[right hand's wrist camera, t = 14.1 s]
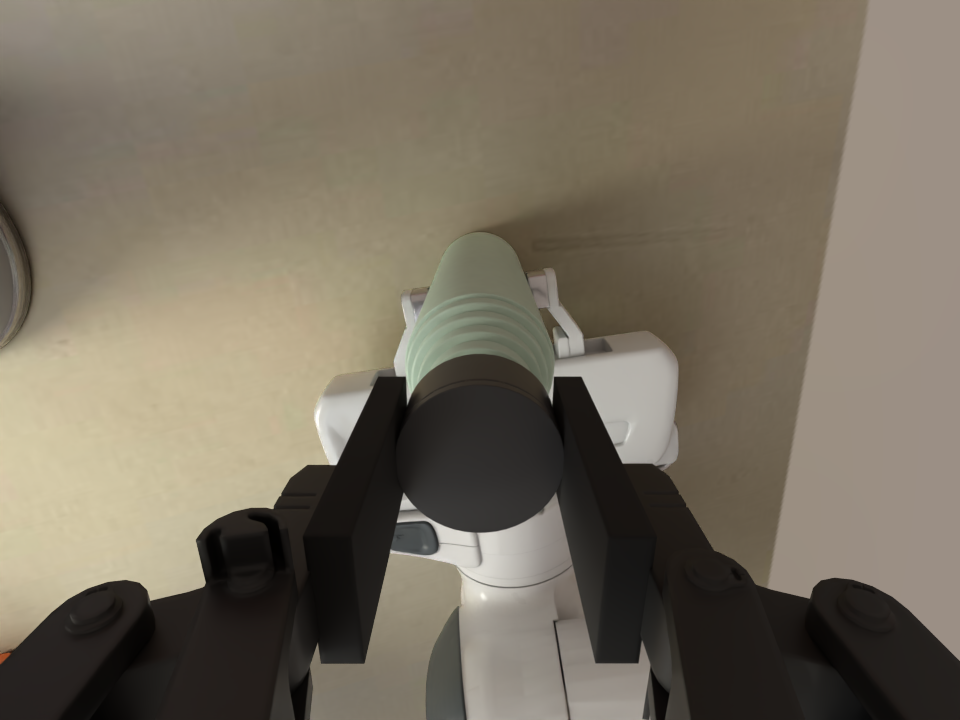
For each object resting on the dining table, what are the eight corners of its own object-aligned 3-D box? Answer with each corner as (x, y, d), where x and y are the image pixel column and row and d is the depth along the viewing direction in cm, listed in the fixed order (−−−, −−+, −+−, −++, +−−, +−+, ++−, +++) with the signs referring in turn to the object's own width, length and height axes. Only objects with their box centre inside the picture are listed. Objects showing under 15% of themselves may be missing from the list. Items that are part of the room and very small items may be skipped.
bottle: (422, 270, 34) (327, 446, 13) (483, 213, 33) (489, 307, 12) (476, 329, 35) (471, 575, 14) (537, 277, 34) (630, 463, 13)
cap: (375, 416, 15) (358, 457, 13) (486, 322, 14) (487, 349, 12) (474, 509, 16) (473, 560, 14) (583, 427, 15) (600, 469, 13)
